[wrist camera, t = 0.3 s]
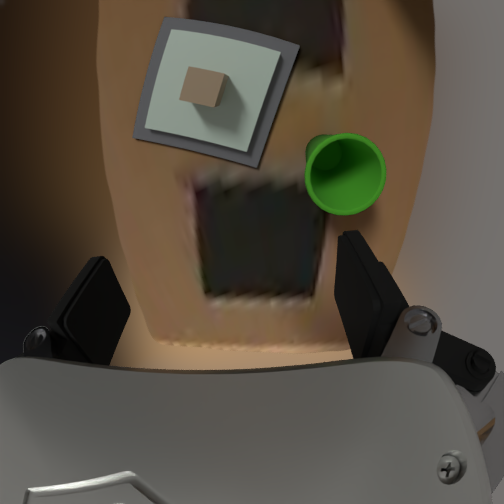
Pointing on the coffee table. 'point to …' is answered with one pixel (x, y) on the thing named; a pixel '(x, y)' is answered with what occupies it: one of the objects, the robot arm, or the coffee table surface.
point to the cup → (344, 173)
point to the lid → (210, 88)
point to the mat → (268, 105)
